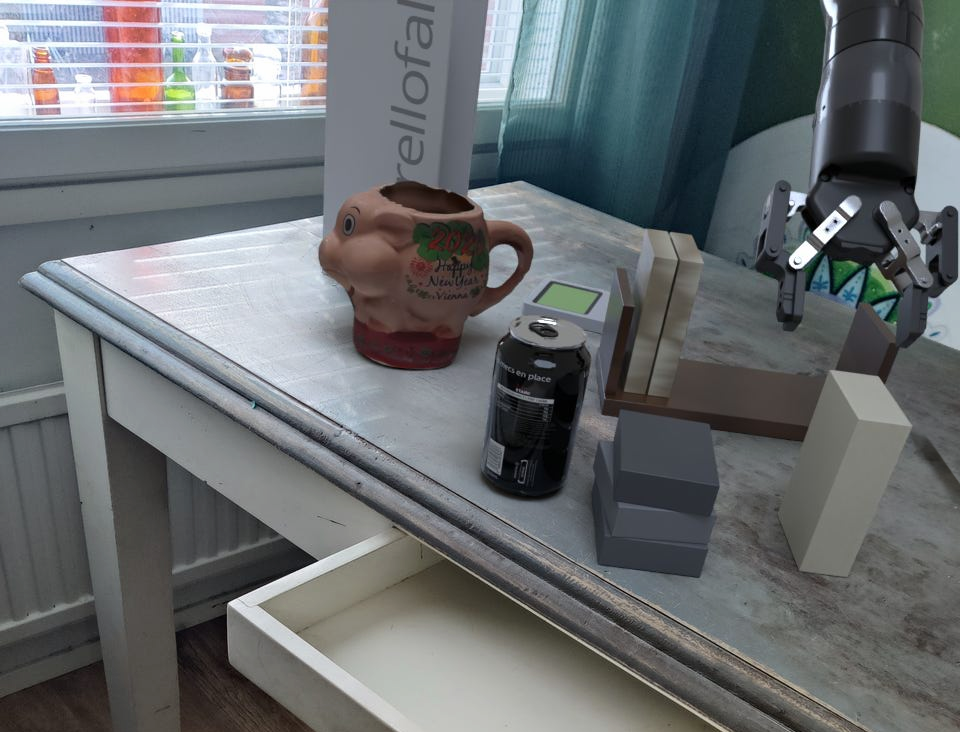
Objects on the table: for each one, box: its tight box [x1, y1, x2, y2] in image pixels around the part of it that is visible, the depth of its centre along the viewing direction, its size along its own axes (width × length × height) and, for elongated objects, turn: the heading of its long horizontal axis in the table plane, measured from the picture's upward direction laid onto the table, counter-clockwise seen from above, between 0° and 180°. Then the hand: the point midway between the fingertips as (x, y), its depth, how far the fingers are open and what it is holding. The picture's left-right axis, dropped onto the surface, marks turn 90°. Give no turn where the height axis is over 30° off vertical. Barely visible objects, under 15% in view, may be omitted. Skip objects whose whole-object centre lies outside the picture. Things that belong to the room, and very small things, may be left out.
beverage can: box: [480, 315, 592, 497], centre depth 73 cm, size 7×7×12 cm
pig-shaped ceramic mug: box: [317, 181, 535, 370], centre depth 90 cm, size 20×12×14 cm, turn 114°
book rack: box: [594, 228, 900, 442], centre depth 89 cm, size 24×12×14 cm, turn 87°
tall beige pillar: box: [777, 369, 913, 578], centre depth 70 cm, size 4×8×12 cm, turn 177°
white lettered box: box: [321, 0, 490, 276], centre depth 97 cm, size 14×6×30 cm, turn 55°
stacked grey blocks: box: [591, 410, 721, 578], centre depth 70 cm, size 8×10×7 cm
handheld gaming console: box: [521, 277, 611, 335], centre depth 107 cm, size 10×2×15 cm
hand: (849, 335), depth 71 cm, fingers open, 8 cm apart
